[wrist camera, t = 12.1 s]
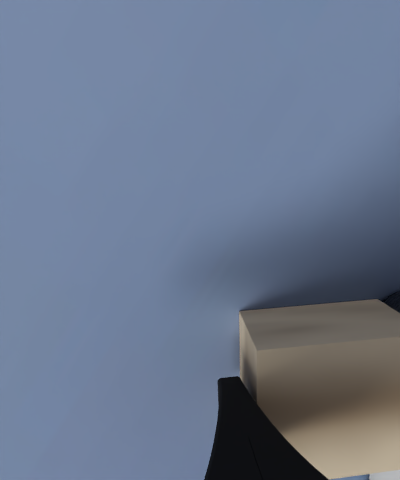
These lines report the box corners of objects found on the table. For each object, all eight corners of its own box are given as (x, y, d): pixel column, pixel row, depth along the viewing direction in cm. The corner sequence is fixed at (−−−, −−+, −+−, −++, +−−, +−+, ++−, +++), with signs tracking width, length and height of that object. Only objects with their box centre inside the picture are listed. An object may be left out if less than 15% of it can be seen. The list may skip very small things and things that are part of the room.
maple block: (363, 412, 15) (406, 468, 12) (240, 427, 15) (256, 488, 12) (377, 299, 14) (431, 333, 11) (239, 311, 13) (257, 350, 10)
